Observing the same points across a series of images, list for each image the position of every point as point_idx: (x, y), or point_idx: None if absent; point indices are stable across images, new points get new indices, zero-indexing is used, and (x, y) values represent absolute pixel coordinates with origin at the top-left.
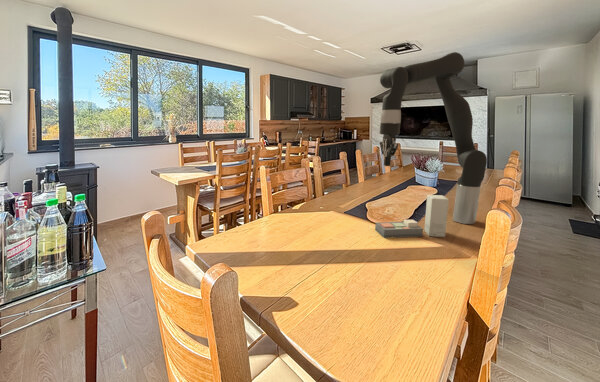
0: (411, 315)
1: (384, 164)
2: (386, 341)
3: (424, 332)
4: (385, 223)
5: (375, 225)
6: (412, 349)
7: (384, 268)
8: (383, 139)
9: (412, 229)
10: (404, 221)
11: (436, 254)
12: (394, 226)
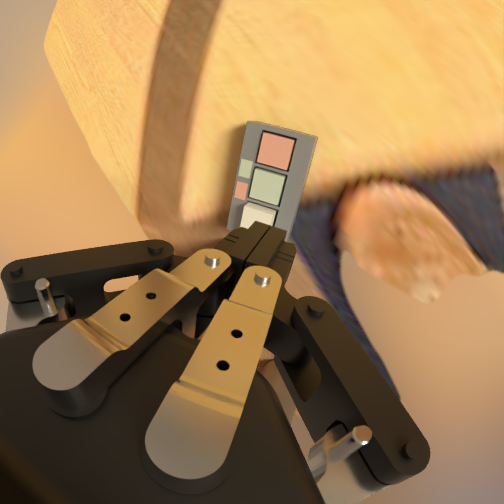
0: (70, 50)
1: (268, 226)
2: (63, 22)
3: (58, 53)
4: (287, 154)
5: (316, 137)
6: (54, 38)
7: (136, 51)
8: (152, 458)
9: (231, 201)
10: (267, 212)
11: (154, 174)
12: (267, 171)
